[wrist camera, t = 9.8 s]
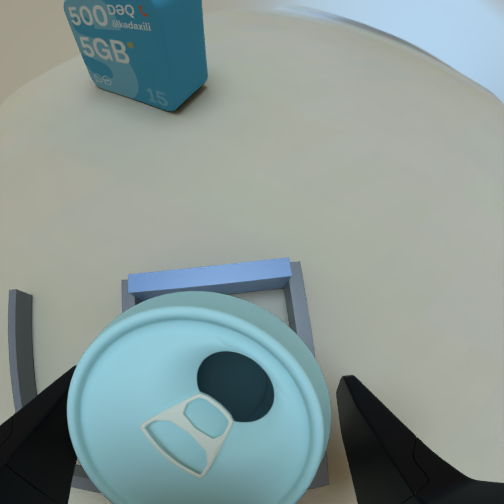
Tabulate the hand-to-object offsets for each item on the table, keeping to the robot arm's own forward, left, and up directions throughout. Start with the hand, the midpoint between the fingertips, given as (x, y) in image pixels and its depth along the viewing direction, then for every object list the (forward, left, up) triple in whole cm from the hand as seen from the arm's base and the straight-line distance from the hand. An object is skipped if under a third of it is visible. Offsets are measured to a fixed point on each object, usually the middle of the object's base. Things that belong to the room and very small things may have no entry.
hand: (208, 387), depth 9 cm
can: (-1, 0, -8) cm, 8 cm away
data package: (+25, +5, -8) cm, 27 cm away
